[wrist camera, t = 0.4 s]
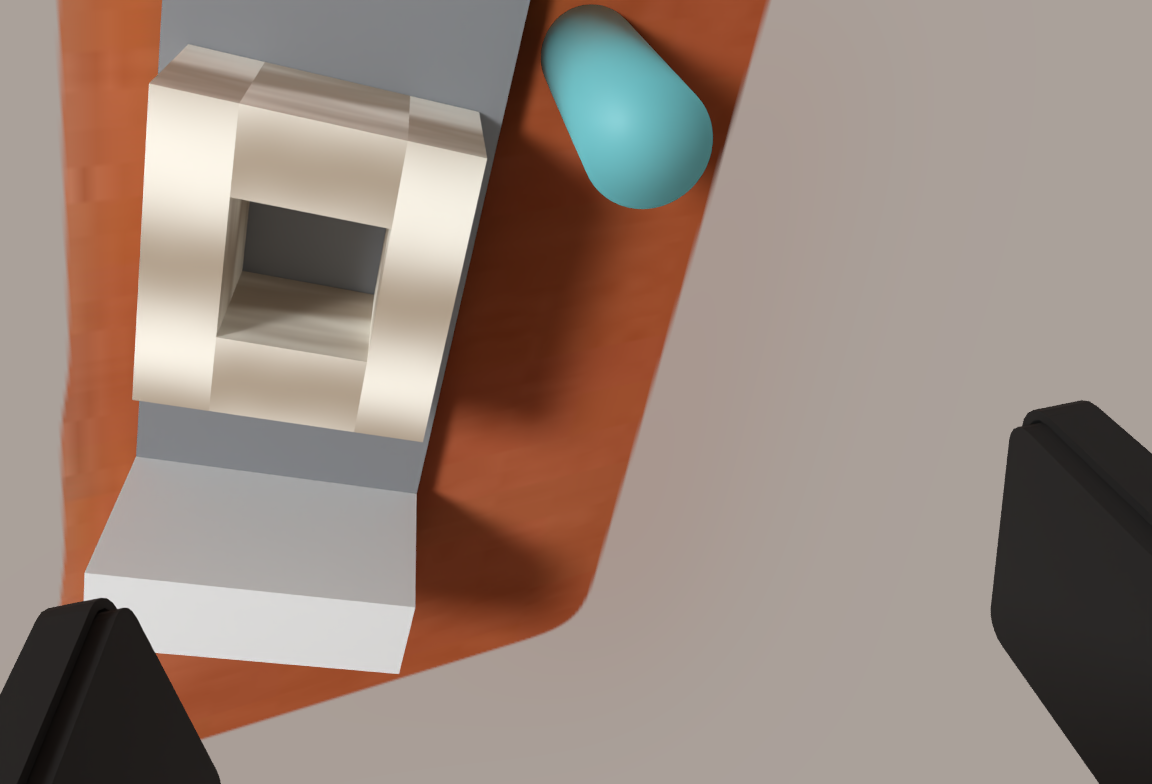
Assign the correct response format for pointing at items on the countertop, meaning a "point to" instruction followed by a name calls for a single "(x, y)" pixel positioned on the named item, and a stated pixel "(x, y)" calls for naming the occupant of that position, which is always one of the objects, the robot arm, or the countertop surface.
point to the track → (287, 450)
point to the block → (314, 185)
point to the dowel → (625, 109)
